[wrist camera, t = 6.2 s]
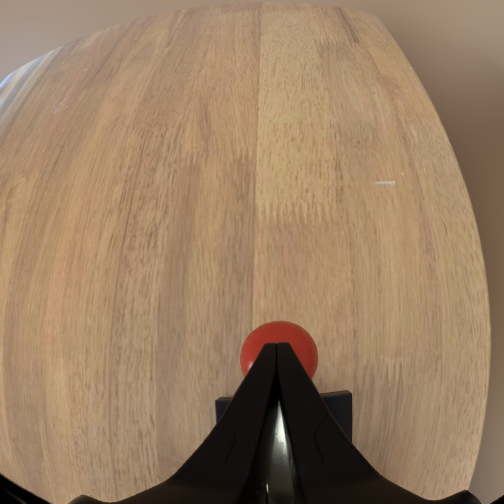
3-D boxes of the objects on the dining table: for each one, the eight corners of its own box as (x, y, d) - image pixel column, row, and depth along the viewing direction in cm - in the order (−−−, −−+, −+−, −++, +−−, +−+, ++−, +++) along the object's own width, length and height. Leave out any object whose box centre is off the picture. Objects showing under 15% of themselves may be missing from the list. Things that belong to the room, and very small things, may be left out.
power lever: (246, 336, 14) (234, 311, 11) (312, 331, 13) (317, 305, 11) (246, 544, 7) (233, 572, 5) (317, 542, 7) (324, 570, 4)
